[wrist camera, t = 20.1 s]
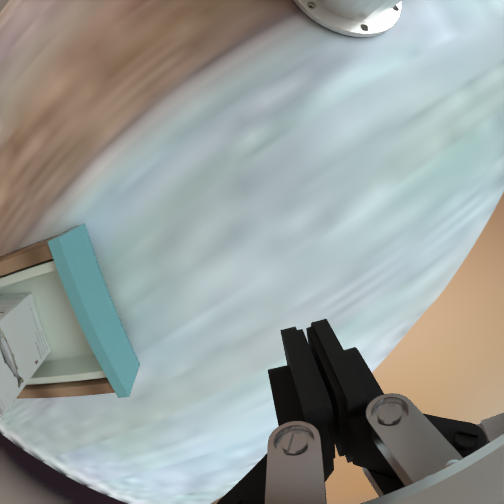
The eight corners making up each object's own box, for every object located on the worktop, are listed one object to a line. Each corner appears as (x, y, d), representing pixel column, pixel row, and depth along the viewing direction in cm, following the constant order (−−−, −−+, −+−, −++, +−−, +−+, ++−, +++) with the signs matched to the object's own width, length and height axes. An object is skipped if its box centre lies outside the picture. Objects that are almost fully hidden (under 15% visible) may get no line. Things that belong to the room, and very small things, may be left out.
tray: (84, 223, 26) (58, 237, 21) (139, 364, 31) (129, 396, 26) (-33, 268, 26) (-60, 284, 21) (19, 378, 30) (2, 402, 25)
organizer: (77, 228, 27) (48, 244, 22) (128, 358, 32) (115, 392, 26) (-33, 270, 27) (-62, 287, 21) (15, 372, 31) (-5, 398, 26)
